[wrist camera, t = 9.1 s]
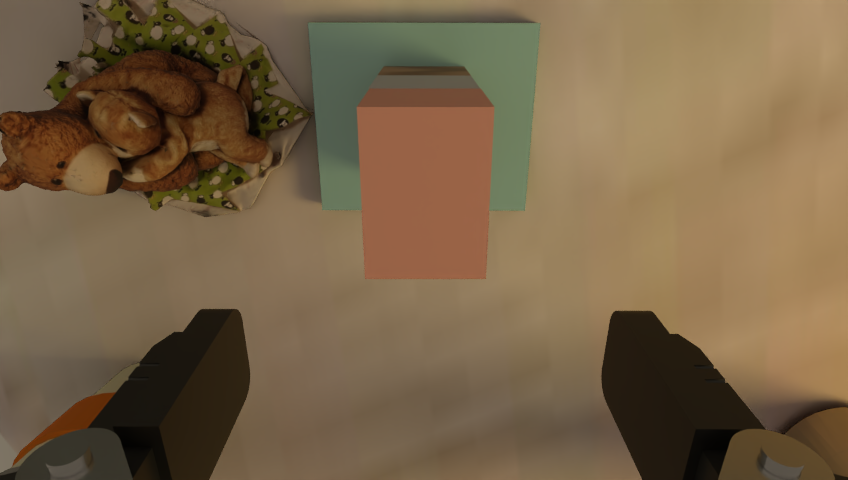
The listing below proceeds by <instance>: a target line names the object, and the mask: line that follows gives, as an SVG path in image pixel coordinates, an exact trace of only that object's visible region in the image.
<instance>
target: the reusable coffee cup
mask: <svg viewBox="0 0 848 480" xmlns="http://www.w3.org/2000/svg"><path fill="white" fill-rule="evenodd" d="M139 365H140V363H137V364H133V365H131V366H129V367H127V368H125V369H123V370H122V371H121V372H119V373H118V374H117V375H116V376H115V377H114V378H112V379H111V380H110V381H109V382H108V383H107V384H106V385H104V386H103V387H102V388H101V389H100V390H99V391H98V392H97V393H95V394H94V395H93V396H90V397H87V398H85V399H83V400H81V401H79V402H77V403H76V404H75V405H73V406H72V407H71V408H70V409H69V410H67V411H66V412H65V413H64V414H63V415H62V416H60V417H59V418H58V419H57V420H56V421H55V422H53V423H52V424H51V425H50V426H49V427H48V428H46V429H45V430H44V431H43V432H42V433H41V434H39V435H38V436H37V437H36V438H35V439H34V440H33V441H31V442H30V443H29V444H28V445H27V446H26V447H24V448H23V449H22V450H21V451H20V453H19V454H18V456H17V457H16V459H15V460H14V463H13V466H12V467H11V468H10V469H8V470H6V471H4V472H2V473H0V475H5V474H9V473H13V472H17V471H18V469H19V467H20V466H21V464H22V463H23V462H24V461H25V459H26V458H27V457H28V456H30V455H31V454H32V453H33V452H34V451H35V450H37V449H38V448H39V447H41V446H42V445H44V444H45V443H47V442H49V441H51V440H53V439H54V438H56V437H59V436H61V435H64V434H66V433H69V432H72V431H76V430H80V429H86V428H88V426H89V425H90V424H91V423H92V421H93V420H94V419H95V418H96V416H97V415H98V414H99V413H100V411H101V410H102V409H103V408H104V406H105V405H106V404H107V403H108V402H109V400H110V399H111V398H112V397H113V395H114V394H115V393H116V392H117V390H118V389H119V388H120V387H121V385H122V384H123V383H124V382H125V381H128V377H129V375H130V374H131V373H132V372H133V370H134V369H135V368H136V367H137V366H139Z"/></svg>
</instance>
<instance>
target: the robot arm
mask: <svg viewBox="0 0 848 480" xmlns="http://www.w3.org/2000/svg"><path fill="white" fill-rule="evenodd" d="M249 384H250V367H249V361H248V354H247V348H246V341H245V335H244V328H243V322H242V317H241V314H240V312H239V310H237V309H201V310H200V311H199V312H198V313H197V314H196V315H195V317H194V318H193V319H192V321H191V322H190V323H189V325H188V326H187V327H186V329H185V330H184V331H183V332H174V333H172V334H171V335H169V336H168V337H166V338H165V339H163V340H162V341H160V342H159V343H157V344H156V345H154V346H153V347H152V348H151V349H150V351H149V352H148V353H147V354H146V356H145V357H144V358H143V359H142V361H141V362H140V365H139V366H137V367H136V368H135V369H134V370H133V372H132V373H131V374H130V375H129V377H128V381H125V382H124V383H123V384H122V385H121V387H120V388H119V389H118V390H117V392H116V393H115V394H114V395H113V397H112V398H111V399H110V400H109V402H108V403H107V404H106V405H105V406H104V408H103V409H102V410H101V411H100V413H99V414H98V415H97V416H96V418H95V419H94V420H93V421H92V423H91V424H90V425H89V426H88V428H86V429H80V430H76V431H72V432H69V433H66V434H64V435H61V436H59V437H56V438H54V439H53V440H51V441H49V442H47V443H45V444H44V445H42V446H41V447H39V448H38V449H37V450H35V451H34V452H33V453H32V454H31V455H30V456H28V457H27V458H26V459H25V461H24V462H23V463H22V464H21V466H20V467H19V469H18V471H17V472H13V473H9V474H5V475H0V480H209V479H210V477H211V474H212V472H213V470H214V468H215V466H216V463H217V461H218V459H219V457H220V455H221V452H222V450H223V448H224V446H225V444H226V442H227V439H228V437H229V435H230V433H231V431H232V428H233V426H234V424H235V422H236V420H237V417H238V415H239V413H240V411H241V409H242V406H243V404H244V402H245V400H246V397H247V394H248V390H249ZM602 389H603V394H604V397H605V400H606V403H607V405H608V407H609V409H610V411H611V413H612V415H613V418H614V420H615V422H616V424H617V426H618V428H619V430H620V433H621V435H622V437H623V439H624V441H625V443H626V445H627V448H628V450H629V452H630V454H631V456H632V458H633V460H634V463H635V465H636V467H637V469H638V471H639V473H640V475H641V478H642V480H848V407H840V408H833V409H827V410H824V411H821V412H817V413H815V414H813V415H811V416H808V417H806V418H804V419H803V420H801V421H800V422H798V423H797V424H795V425H794V426H793V427H792V428H791V429H790V430H788V431H787V432H786V433H785V435H783V434H780V433H777V432H774V431H769V430H766V429H765V428H764V427H763V425H762V424H761V423H760V422H759V420H758V419H757V418H756V417H755V416H754V414H753V413H752V412H751V411H750V409H749V408H748V407H747V406H746V405H745V403H744V402H743V401H742V400H741V398H740V397H739V396H738V395H737V394H736V392H735V391H734V390H733V389H732V387H731V386H730V385H729V384H728V383H725V379H724V378H723V376H722V375H721V374H720V373H719V371H718V370H717V369H714V368H713V364H712V363H711V362H710V360H709V359H708V358H707V357H706V356H705V354H704V353H703V352H702V351H701V349H700V348H698V347H697V346H695V345H694V344H692V343H691V342H689V341H688V340H686V339H685V338H683V337H682V336H680V335H679V334H669V332H668V331H667V330H666V328H665V327H664V326H663V324H662V323H661V322H660V320H659V319H658V318H657V316H656V315H655V314H654V313H653V312H652V311H615V312H613V314H612V316H611V319H610V324H609V330H608V336H607V342H606V348H605V354H604V360H603V366H602Z"/></svg>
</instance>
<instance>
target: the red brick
mask: <svg viewBox="0 0 848 480" xmlns="http://www.w3.org/2000/svg"><path fill="white" fill-rule="evenodd" d="M494 108H495V107H494V106H493V104H492V103H491V102H490V100H489V99H488V97H487V96H486V95H485V93H484V92H483V91H482V89H481V88H480V89H369V90H368V91H367V93H366V94H365V96H364V97H363V99H362V100H361V102H360V103H359V105H358V106H357V124H358V144H359V164H360V184H361V205H362V225H363V245H364V265H365V279H486V264H487V245H488V225H489V205H490V186H491V166H492V147H493V127H494Z"/></svg>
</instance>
